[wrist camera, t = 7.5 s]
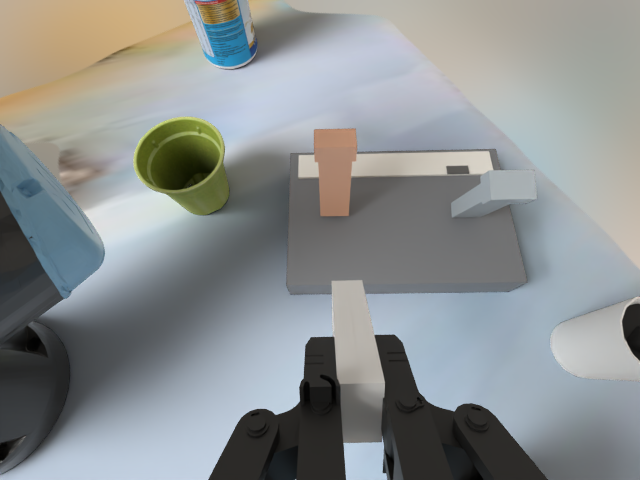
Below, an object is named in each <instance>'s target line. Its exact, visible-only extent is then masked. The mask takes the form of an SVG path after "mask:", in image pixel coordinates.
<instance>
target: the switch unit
mask: <svg viewBox="0 0 640 480" xmlns="http://www.w3.org/2000/svg"><path fill="white" fill-rule="evenodd" d="M489 170H501V169H500V165H499V160H498V156H497V152H496V149H473V150H426V151H379V152H357V155H356V161H355V162H352V171H351V187H350V202H349V216H320V192H319V168H318V162H315V159H314V153H291V155H290V187H289V219H288V251H287V283H286V286H287V288H288V290H289V292H290V294H291V295H299V294H332V281H346V280H362V282H363V287H364V291H365V294H380V293H461V292H509V291H511V290H513V289H515V288H517V287H519V286H521V285H523V284H525V283H527V277H526V273H525V269H524V265H523V261H522V257H521V252H520V248H519V244H518V240H517V236H516V231H515V227H514V223H513V219H512V215H511V211H510V206H509V205H507V206H505V207H502V208H500V209H498V210H496V211H493V212H491V213H489V214H486V215H484V216H482V217H464V218H452V213H451V203H452V202H453V201H455V200H456V199H458V198H459V197H461V196H462V195H464V194H465V193H467V192H468V191H470V190H471V189H473V188H474V187H476V186H477V185H479V184H480V183H481V181H480V176H482V175H483V174H485V173H486V172H487V171H489Z"/></svg>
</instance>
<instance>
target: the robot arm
mask: <svg viewBox="0 0 640 480" xmlns="http://www.w3.org/2000/svg"><path fill="white" fill-rule="evenodd" d="M104 256H105V249H104V245H103V242H102V240H101V238H100V236H99V234H98V233H97V231H96V229H95V228H94V226H93V225H92V223H91V222H90V220H89V219H88V218H87V216H86V215H85V214H84V212H83V211H82V210H81V208H80V207H79V206H78V205H77V203H76V202H75V201H74V199H73V198H72V197H71V196H70V194H69V193H68V192H67V191H66V190H65V188H64V187H63V186H62V185H61V184H60V182H59V181H58V180H57V179H56V178H55V177H54V175H53V174H52V173H51V172H50V171H49V170H48V168H47V167H46V166H45V165H44V164H43V163H42V162H41V161H40V160H39V159H38V158H37V157H36V155H35V154H34V153H33V152H32V151H31V150H30V149H29V148H28V147H27V146H26V145H25V144H24V143H23V142H22V141H21V140H20V139H19V138H18V137H16V136H15V135H14V134H12V133H11V132H9V131H8V130H7V129H6V128H5V127H4V126H2V125H1V124H0V474H2V473H4V472H6V471H8V470H10V469H11V468H13V467H14V466H16V465H17V464H19V463H20V462H22V461H23V460H24V459H25V458H27V457H28V456H29V455H30V454H31V453H32V452H33V451H34V450H35V449H36V448H37V447H38V446H39V445H40V444H41V442H42V441H43V440H44V439H45V438H46V436H47V435H48V433H49V432H50V431H51V429H52V427H53V426H54V424H55V422H56V421H57V419H58V417H59V415H60V413H61V410H62V408H63V405H64V402H65V399H66V396H67V392H68V386H69V377H70V369H69V361H68V356H67V353H66V350H65V348H64V345H63V344H62V342H61V340H60V339H59V338H58V336H57V335H56V334H55V333H54V332H53V331H52V330H50V329H49V328H48V327H46V326H44V325H42V324H40V323H37V322H34V320H35V319H36V318H38V317H39V316H41V315H42V314H43V313H45V312H46V311H47V310H49V309H50V308H52V307H53V306H54V305H56V304H57V303H58V302H60V301H61V300H63V299H65V298H68V297H69V296H70V295H71V291H72V290H73V289H75V288H76V287H77V286H78V285H79V284H81V283H82V282H83V281H84V280H86V279H87V278H88V277H89V276H90V275H92V274H93V273H94V272H95V271H97V270H98V269H99V267H100V266H101V265H102V263H103V260H104ZM332 329H333V337H311V338H310V340H309V341H308V343H307V344H306V346H305V365H304V379H303V380H302V381H301V384H300V387H299V390H300V402H299V403H298V404H297V405H296V407H294V408H293V409H291V410H289V411H287V412H285V413H281V414H278V415H275V414H274V413H273V412H272V411H269V410H267V409H256V410H253V411H250V412H248V413H247V414H245V415H244V416H243V417H242V418H241V419H240V421H239V422H238V424H237V425H236V427H235V429H234V431H233V433H232V435H231V437H230V439H229V441H228V443H227V445H226V447H225V449H224V451H223V452H222V454H221V456H220V458H219V460H218V462H217V464H216V466H215V468H214V470H213V472H212V474H211V476H210V477H209V479H208V480H295V479H296V480H346V475H345V460H344V446H343V443H361V442H382V436H383V442H384V459H383V473H386V474H387V480H548V479H547V478H546V477H545V476H544V474H543V473H542V472H541V471H540V470H539V468H538V467H537V466H536V465H535V464H534V462H533V461H532V460H531V459H530V458H529V456H528V455H527V454H526V453H525V451H524V450H523V449H522V448H521V447H520V445H519V444H518V443H517V442H516V441H515V439H514V438H513V437H512V436H511V435H510V433H509V432H508V431H507V430H506V429H505V427H504V426H503V425H502V424H501V423H500V421H499V420H498V419H497V418H496V416H494V415H493V414H492V413H491V412H490V411H489V410H488V409H486V408H484V407H482V406H480V405H476V404H472V403H471V404H463V405H461V406H458V407H457V409H456V410H455V412H454V411H450V410H446V409H442V408H439V407H436V406H434V405H432V404H430V403H428V402H427V401H426V400H425V398H424V397H423V396H422V395H421V394H420V393H419V391H418V389H417V386H416V383H415V380H414V377H413V374H412V371H411V368H410V364H409V362H408V358H407V355H406V353H405V349H404V346H403V343H402V342H401V341H400V340H399V339H398V338H397V337H396V336H395V335H374V331H373V327H372V322H371V318H370V313H369V309H368V305H367V300H366V296H365V291H364V287H363V282H362V280H346V281H332Z"/></svg>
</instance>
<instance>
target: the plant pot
mask: <svg viewBox="0 0 640 480" xmlns="http://www.w3.org/2000/svg"><path fill="white" fill-rule="evenodd" d="M224 153H225V146H224V141H223V138H222V136H221V134H220V132H219V131H218V130H217V128H216V127H215V126H213V125H212V124H211V123H209V122H207V121H205V120H203V119H200V118H195V117H178V118H173V119H169V120H166V121H164V122H162V123H159V124H158V125H156V126H154V127H153V128H152V129H150V130H149V131H148V132H147V133H146V134H145V135H144V136H143V137H142V138H141V140H140V141H139V143H138V145H137V147H136V150H135V153H134V161H133V163H134V169H135V172H136V174H137V176H138V178H139V179H140V180H141V181H142V182H143V183H144V184H145V185H146V186H147V187H149V188H150V189H152V190H154V191H157V192H160V193H165V194H167V195H168V196H170V197H171V198H172V199H173V200H175V201H176V202H177V203H179V204H180V205H181V206H182V207H184V208H185V209H186V210H188V211H189V212H191V213H193V214H197V215H207V214H210V213H212V212H214V211H216V210H219V209H220V208H222V207H223V205H224V204H225V203H226V201H227V199H228V197H229V185H228V181H227V177H226V173H225V169H224V165H223V159H224ZM190 184H191V185H192V186H191V187H189V188H187V187H188V186H189V185H190Z"/></svg>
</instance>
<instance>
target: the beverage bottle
mask: <svg viewBox="0 0 640 480" xmlns="http://www.w3.org/2000/svg"><path fill="white" fill-rule="evenodd" d="M184 2H185V5H186V7H187V10H188V12H189V15H190V17H191V20H192V22H193V25H194V28H195V30H196V33H197V35H198V38H199V40H200V43H201V46H202V49H203V52H204V54H205V57H206V58H207V60H208V61H209V62H210V63H211V64H212V65H214V66H216V67H219V68H223V69H234V68H239V67H241V66H244V65H246V64H247V63H249V62H250V61H251V60H252V59H253V58H254V56H255V55H256V52H257V48H258V45H257V39H256V36H255V32H254V27H253V22H252V17H251V13H250V8H249V3H248V0H184Z"/></svg>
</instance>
